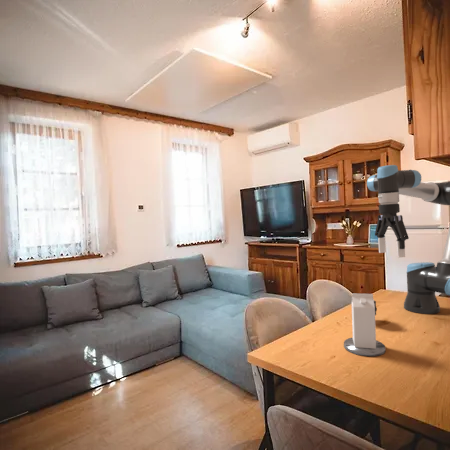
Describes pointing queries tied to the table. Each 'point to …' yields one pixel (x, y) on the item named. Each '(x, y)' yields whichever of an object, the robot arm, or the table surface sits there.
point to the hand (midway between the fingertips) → (391, 254)
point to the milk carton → (363, 321)
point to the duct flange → (364, 351)
